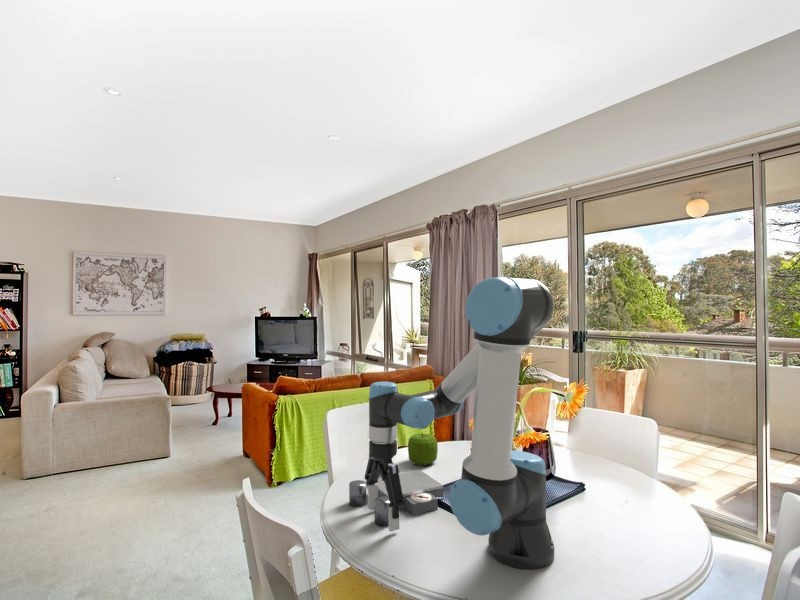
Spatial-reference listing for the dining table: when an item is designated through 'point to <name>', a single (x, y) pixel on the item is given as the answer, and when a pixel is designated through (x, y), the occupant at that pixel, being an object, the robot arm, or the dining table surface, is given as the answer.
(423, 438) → the apple
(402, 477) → the platform
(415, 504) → the scale
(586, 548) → the dining table surface
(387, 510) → the cylinder
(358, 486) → the cylinder
